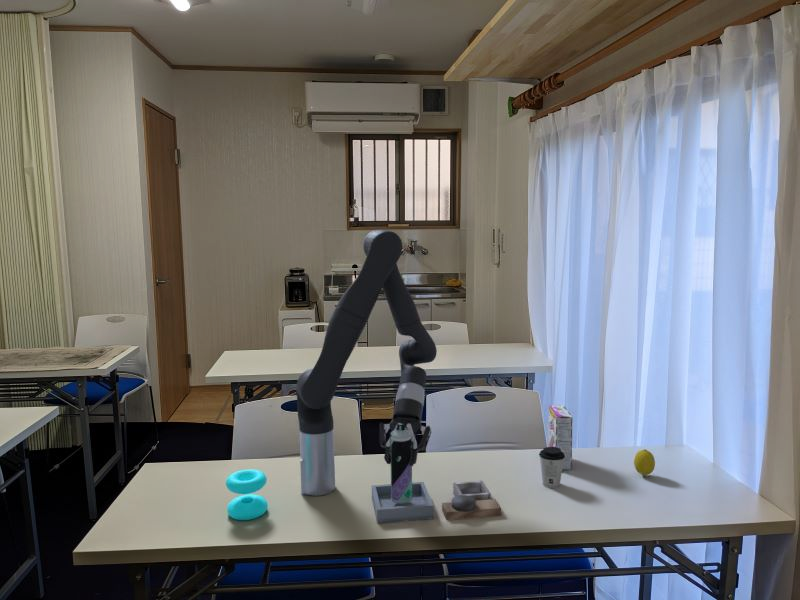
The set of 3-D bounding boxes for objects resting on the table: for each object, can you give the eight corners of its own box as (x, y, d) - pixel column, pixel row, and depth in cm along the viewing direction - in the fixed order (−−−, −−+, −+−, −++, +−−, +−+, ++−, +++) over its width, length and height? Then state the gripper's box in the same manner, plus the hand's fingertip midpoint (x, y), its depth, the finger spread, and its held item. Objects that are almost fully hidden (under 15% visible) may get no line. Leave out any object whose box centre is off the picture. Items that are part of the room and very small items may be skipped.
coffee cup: (554, 492, 170) (555, 457, 168) (533, 484, 175) (533, 449, 174) (569, 484, 174) (570, 450, 173) (548, 477, 180) (549, 443, 178)
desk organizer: (446, 520, 155) (446, 507, 154) (435, 494, 169) (435, 482, 169) (501, 516, 157) (501, 503, 156) (485, 491, 171) (485, 478, 171)
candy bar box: (546, 455, 195) (547, 404, 193) (563, 455, 195) (564, 404, 193) (554, 470, 184) (556, 416, 182) (572, 470, 184) (573, 416, 182)
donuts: (220, 473, 161) (258, 464, 166) (222, 510, 162) (260, 500, 167) (232, 487, 152) (272, 477, 157) (234, 526, 154) (273, 515, 159)
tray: (377, 523, 154) (377, 509, 154) (371, 497, 168) (371, 485, 167) (433, 518, 156) (433, 505, 155) (423, 494, 170) (423, 481, 169)
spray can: (397, 505, 158) (395, 429, 155) (387, 496, 163) (386, 422, 160) (416, 500, 161) (415, 425, 158) (406, 492, 165) (405, 419, 162)
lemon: (655, 474, 180) (657, 447, 179) (652, 481, 176) (653, 454, 175) (635, 470, 183) (637, 444, 182) (631, 477, 179) (632, 450, 178)
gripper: (380, 395, 167) (368, 455, 157) (433, 398, 164) (425, 460, 154) (385, 408, 173) (375, 467, 163) (437, 411, 170) (429, 472, 160)
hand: (399, 463), depth 159 cm, fingers closed on spray can, 5 cm apart
